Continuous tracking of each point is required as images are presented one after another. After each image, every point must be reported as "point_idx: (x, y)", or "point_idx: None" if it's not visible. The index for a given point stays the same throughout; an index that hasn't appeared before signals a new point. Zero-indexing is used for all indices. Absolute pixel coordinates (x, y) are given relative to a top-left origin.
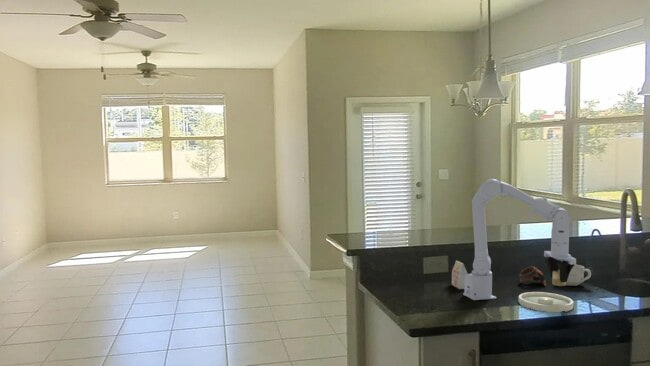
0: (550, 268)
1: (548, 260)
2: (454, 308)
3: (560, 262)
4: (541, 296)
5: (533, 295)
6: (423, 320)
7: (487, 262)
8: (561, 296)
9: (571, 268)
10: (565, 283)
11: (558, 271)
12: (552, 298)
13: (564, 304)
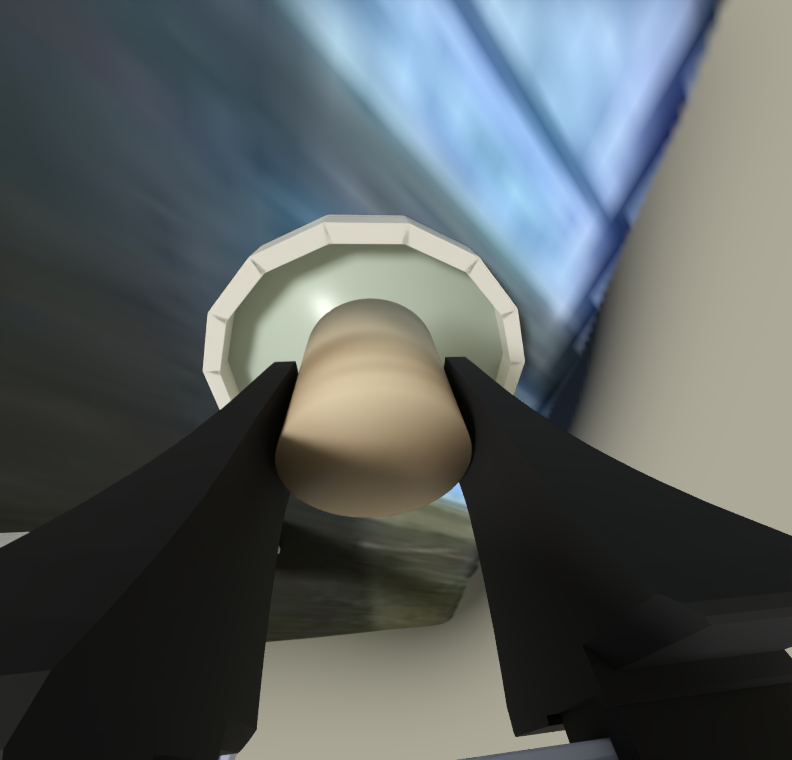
0: (272, 545)
1: (245, 743)
2: (353, 583)
3: (558, 727)
4: (245, 335)
5: (230, 373)
6: (417, 616)
7: (234, 757)
8: (323, 244)
9: (647, 491)
10: (431, 338)
11: (351, 465)
12: (299, 293)
13: (445, 307)
